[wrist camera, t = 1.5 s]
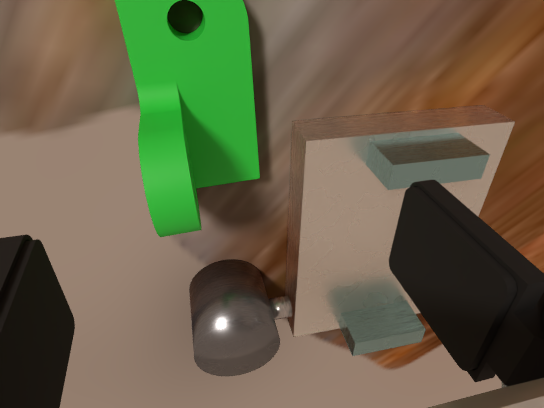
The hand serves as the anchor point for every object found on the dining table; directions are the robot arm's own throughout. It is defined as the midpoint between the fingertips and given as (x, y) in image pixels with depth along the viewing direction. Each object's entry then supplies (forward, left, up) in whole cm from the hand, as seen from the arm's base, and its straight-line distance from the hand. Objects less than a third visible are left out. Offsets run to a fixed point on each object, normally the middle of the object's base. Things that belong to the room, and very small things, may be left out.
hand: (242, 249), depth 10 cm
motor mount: (-9, +12, -15) cm, 21 cm away
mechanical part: (0, 0, -15) cm, 15 cm away
